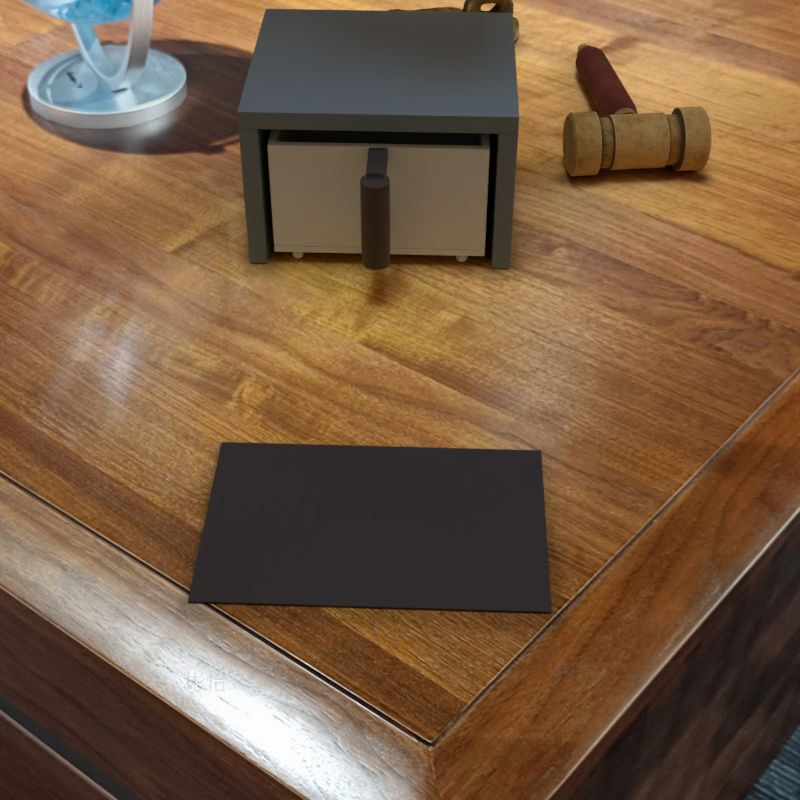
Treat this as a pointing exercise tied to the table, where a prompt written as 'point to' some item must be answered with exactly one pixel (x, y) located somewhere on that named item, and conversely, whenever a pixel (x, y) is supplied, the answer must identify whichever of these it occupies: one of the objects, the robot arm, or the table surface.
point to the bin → (379, 193)
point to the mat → (375, 528)
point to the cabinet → (381, 93)
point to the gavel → (629, 128)
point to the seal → (479, 9)
